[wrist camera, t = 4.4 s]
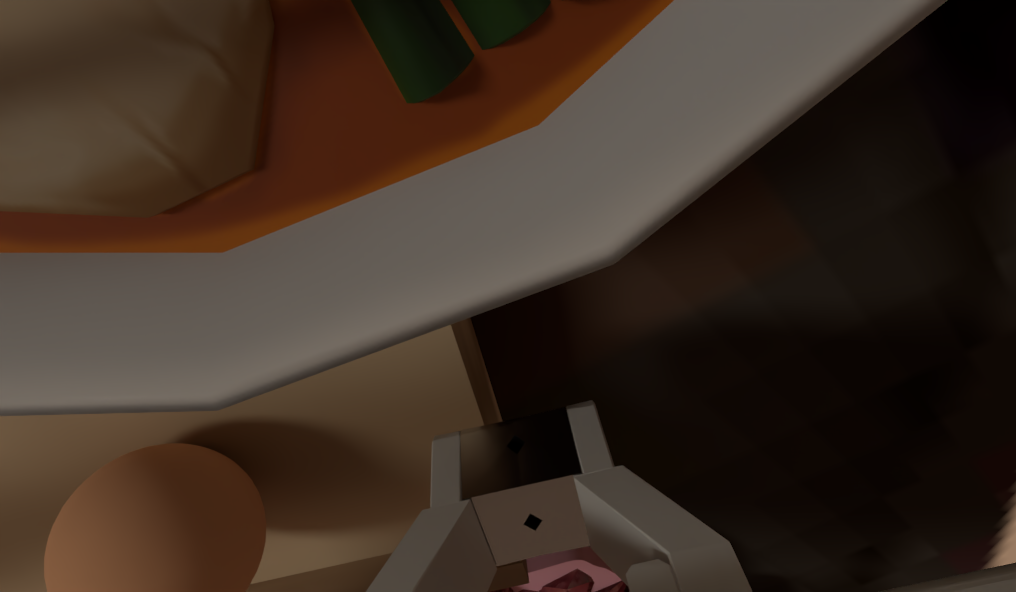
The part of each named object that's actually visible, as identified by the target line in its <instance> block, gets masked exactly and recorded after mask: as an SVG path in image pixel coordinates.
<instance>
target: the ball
mask: <svg viewBox="0 0 1016 592" xmlns="http://www.w3.org/2000/svg"><path fill="white" fill-rule="evenodd" d="M265 542H266V517H265V510H264V506H263V503H262V500H261V497H260V494H259V492H258V490H257V488H256V486H255V485H254V483H253V481H252V479H251V478H250V477H249V476H248V474H247V473H246V472H245V471H244V470H243V469H242V468H241V467H240V466H239V465H238V464H236V463H235V462H234V461H233V460H231V459H230V458H228V457H226V456H225V455H223V454H221V453H219V452H217V451H214V450H211V449H209V448H205V447H202V446H197V445H192V444H183V443H170V444H160V445H154V446H148V447H145V448H141V449H138V450H135V451H132V452H129V453H127V454H125V455H122V456H120V457H118V458H116V459H115V460H113V461H111V462H109V463H107V464H106V465H104V466H103V467H101V468H100V469H98V470H97V471H96V472H94V473H93V474H92V475H91V476H90V477H88V478H87V479H86V480H85V481H84V482H83V483H82V484H81V485H80V486H79V487H78V488H77V489H76V490H75V491H74V492H73V494H72V495H71V496H70V497H69V499H68V500H67V501H66V503H65V504H64V505H63V507H62V509H61V511H60V513H59V514H58V516H57V518H56V520H55V522H54V524H53V526H52V529H51V531H50V534H49V537H48V541H47V545H46V550H45V556H44V578H45V583H46V588H47V592H245V591H246V590H247V589H248V587H249V585H250V583H251V582H252V580H253V578H254V576H255V574H256V572H257V570H258V567H259V565H260V562H261V559H262V555H263V552H264V547H265Z"/></svg>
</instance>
